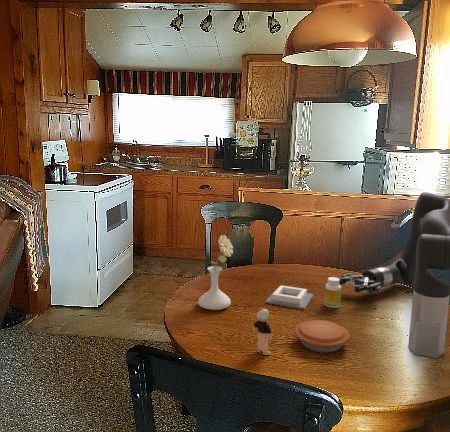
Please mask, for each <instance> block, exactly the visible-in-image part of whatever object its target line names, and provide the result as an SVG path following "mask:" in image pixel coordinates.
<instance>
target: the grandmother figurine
mask: <svg viewBox="0 0 450 432" xmlns="http://www.w3.org/2000/svg"><path fill="white" fill-rule="evenodd" d="M269 315H270V313H269V310H268V309H267V308H262V309H260V310H259V311H258V313H257V314H256V318H257V319H259V320H256V321H255V322H254V323H253V326H252V330H253V331H256V330H257V333H258V334H257V350H256V351H258V352H262V351H263V352H262V353H261V355H262V354H263V355H270V354H271V355H272V352H271V350H269V341H273V337H272V330H271V326H270V324H269V323H268V320H269ZM271 355H270V356H271Z"/></svg>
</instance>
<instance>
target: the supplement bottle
mask: <svg viewBox="0 0 450 432" xmlns="http://www.w3.org/2000/svg"><path fill="white" fill-rule="evenodd" d="M339 282H340V278H339V277H335V276H331V277H330V276H329V277H328V278H327V283H326V284H325V289H324V305H325V306H326V307H327V308H332V309H336V308H339V307H341V297H342V295H341V294H342V285H339Z"/></svg>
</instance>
